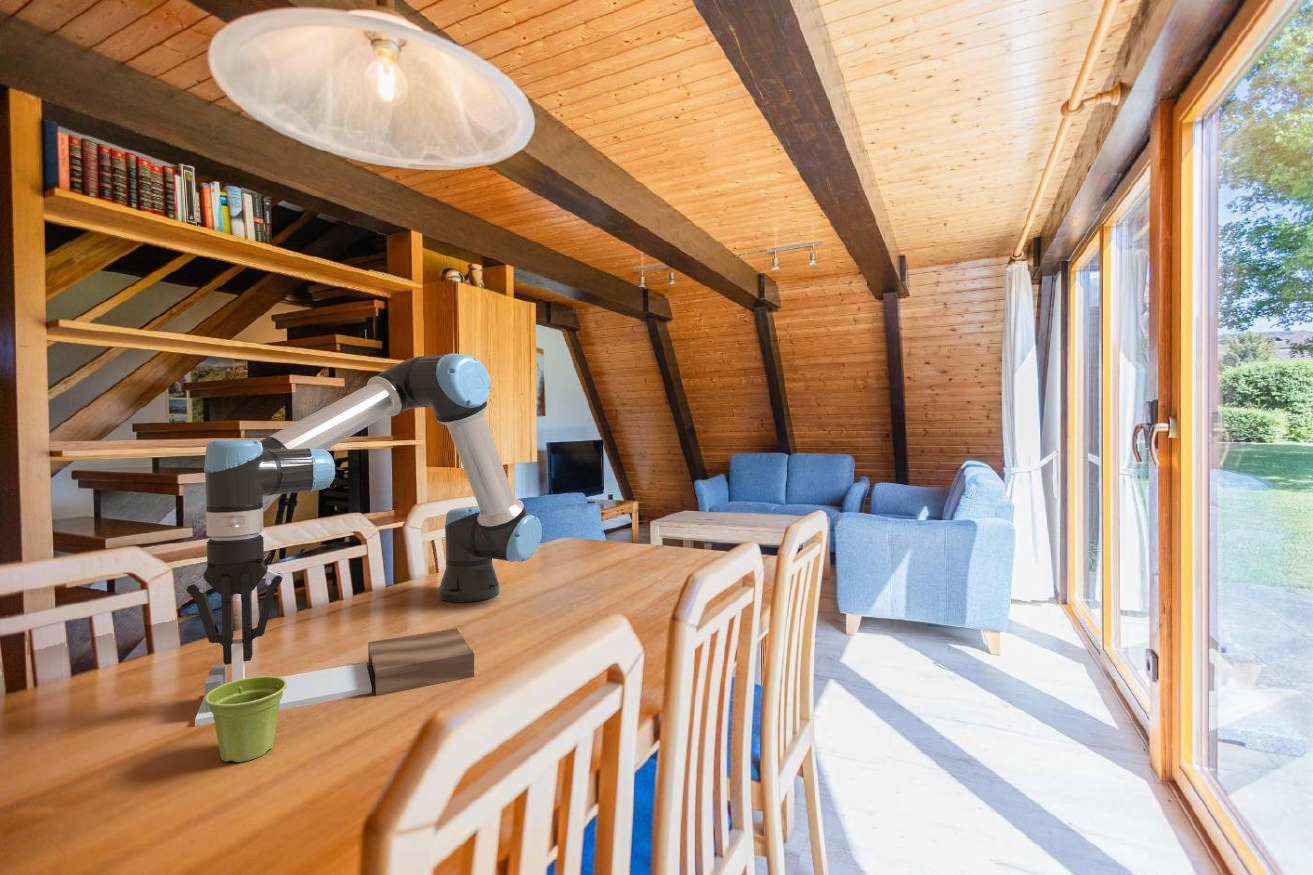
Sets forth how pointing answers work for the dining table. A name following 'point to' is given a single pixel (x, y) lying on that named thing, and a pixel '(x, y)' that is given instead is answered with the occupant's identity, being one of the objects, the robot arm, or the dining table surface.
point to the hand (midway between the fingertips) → (238, 681)
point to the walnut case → (420, 660)
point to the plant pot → (246, 716)
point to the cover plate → (300, 687)
